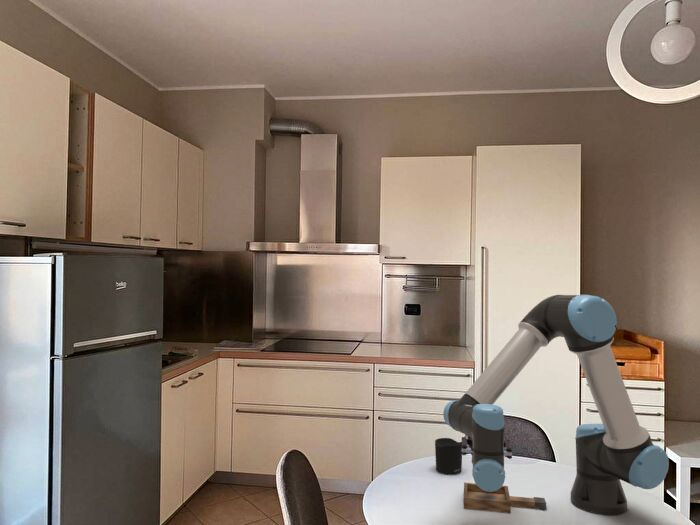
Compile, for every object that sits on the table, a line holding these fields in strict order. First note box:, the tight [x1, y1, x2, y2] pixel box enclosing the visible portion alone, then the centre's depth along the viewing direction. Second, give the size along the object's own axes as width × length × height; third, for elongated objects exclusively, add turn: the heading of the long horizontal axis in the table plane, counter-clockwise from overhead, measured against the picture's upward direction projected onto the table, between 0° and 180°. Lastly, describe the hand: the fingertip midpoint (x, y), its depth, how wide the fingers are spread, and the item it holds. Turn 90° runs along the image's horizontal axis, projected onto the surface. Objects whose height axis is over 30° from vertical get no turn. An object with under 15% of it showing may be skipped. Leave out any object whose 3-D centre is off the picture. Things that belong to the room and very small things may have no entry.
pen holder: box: [434, 437, 463, 475], centre depth 187 cm, size 9×9×10 cm
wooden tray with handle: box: [463, 481, 547, 514], centre depth 158 cm, size 23×13×3 cm, turn 77°
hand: (485, 436), depth 165 cm, fingers closed on squeeze bottle, 6 cm apart
